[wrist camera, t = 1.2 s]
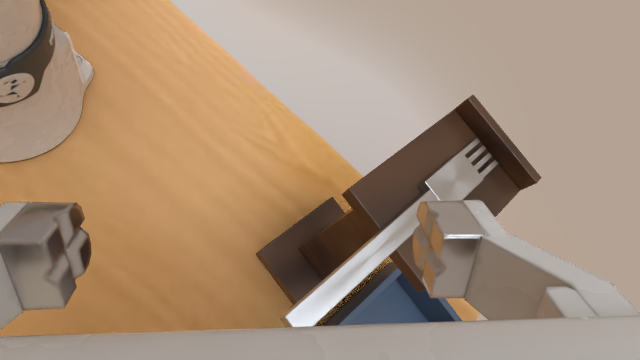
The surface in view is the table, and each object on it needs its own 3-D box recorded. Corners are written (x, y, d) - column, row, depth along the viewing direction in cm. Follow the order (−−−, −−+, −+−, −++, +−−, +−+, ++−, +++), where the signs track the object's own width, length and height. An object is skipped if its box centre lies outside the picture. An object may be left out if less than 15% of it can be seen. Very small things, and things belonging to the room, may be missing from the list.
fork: (302, 348, 23) (307, 348, 22) (272, 308, 23) (277, 307, 23) (493, 167, 33) (501, 162, 33) (471, 140, 34) (479, 135, 33)
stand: (249, 259, 50) (349, 166, 27) (327, 200, 57) (465, 83, 33) (301, 330, 50) (453, 299, 26) (375, 262, 56) (550, 188, 32)
